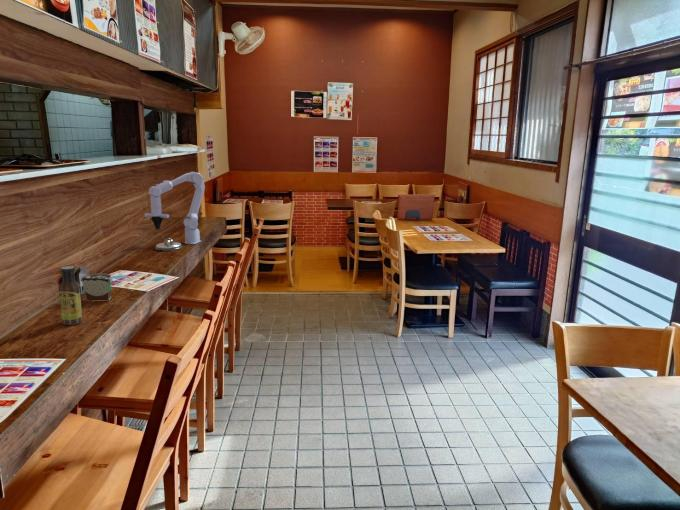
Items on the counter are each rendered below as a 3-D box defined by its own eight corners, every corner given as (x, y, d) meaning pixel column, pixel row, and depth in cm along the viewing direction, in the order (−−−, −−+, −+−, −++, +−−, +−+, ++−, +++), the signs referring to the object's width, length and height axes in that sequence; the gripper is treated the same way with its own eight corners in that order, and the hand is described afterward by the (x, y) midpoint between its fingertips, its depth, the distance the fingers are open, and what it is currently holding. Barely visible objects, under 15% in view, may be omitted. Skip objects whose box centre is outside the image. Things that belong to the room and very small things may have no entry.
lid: (164, 243, 284) (164, 237, 283) (173, 243, 285) (173, 237, 284) (164, 245, 279) (163, 239, 278) (173, 245, 281) (172, 238, 280)
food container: (121, 297, 193) (118, 273, 191) (112, 302, 187) (110, 277, 185) (92, 296, 194) (89, 272, 192) (82, 300, 188) (80, 276, 186)
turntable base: (164, 245, 291) (163, 243, 291) (186, 246, 289) (186, 244, 289) (150, 250, 277) (150, 248, 277) (174, 251, 274) (174, 250, 274)
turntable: (156, 244, 287) (156, 236, 286) (181, 243, 291) (180, 236, 290) (155, 249, 274) (154, 241, 273) (181, 248, 278) (180, 240, 277)
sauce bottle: (58, 325, 162) (51, 269, 158) (68, 319, 169) (62, 264, 164) (77, 326, 162) (70, 269, 158) (86, 319, 169) (80, 265, 164)
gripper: (141, 207, 280) (143, 229, 283) (163, 208, 278) (165, 231, 281) (147, 205, 287) (149, 227, 290) (170, 206, 284) (171, 229, 287)
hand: (157, 229), depth 286 cm, fingers closed
